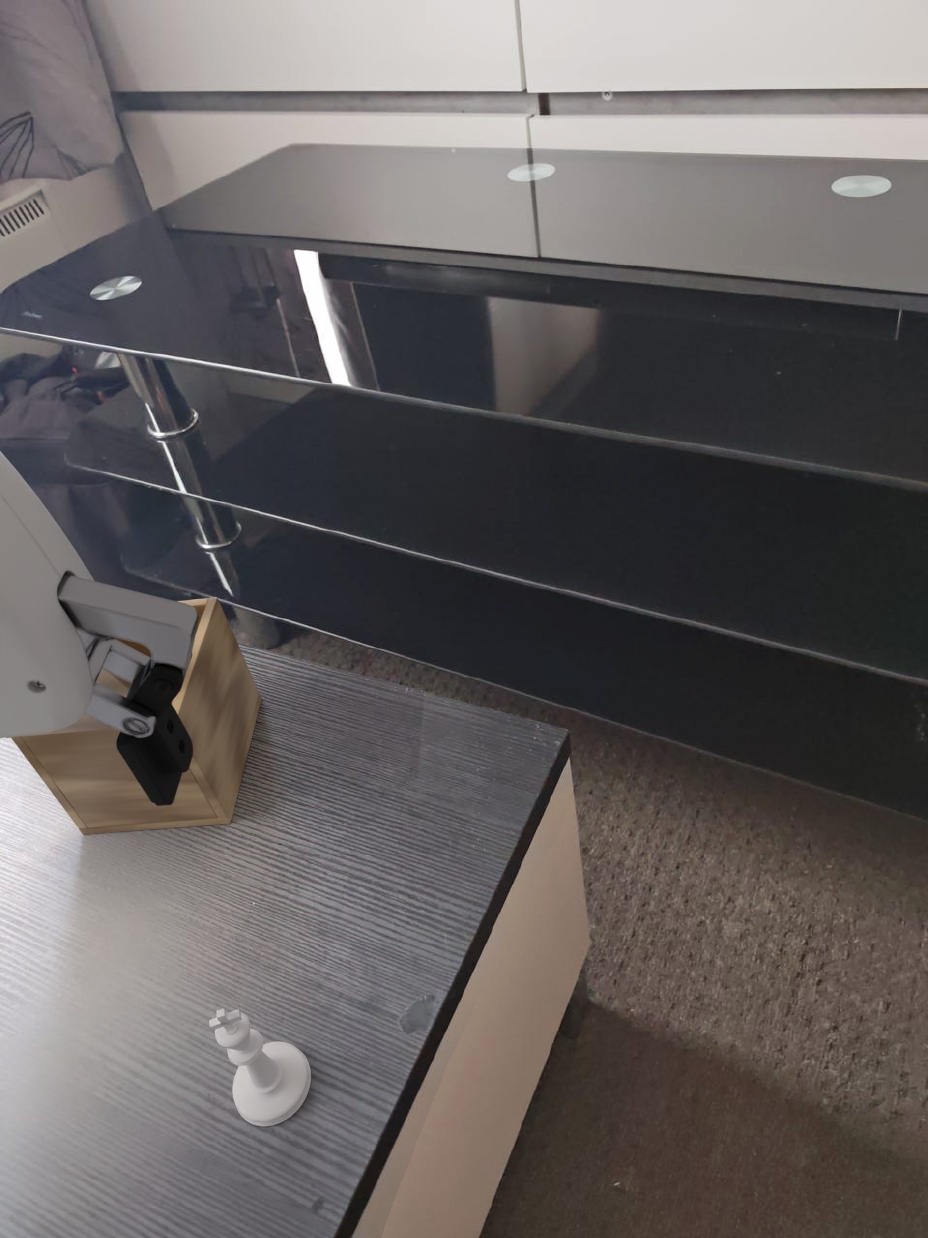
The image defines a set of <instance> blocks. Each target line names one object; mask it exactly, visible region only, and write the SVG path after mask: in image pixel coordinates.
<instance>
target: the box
mask: <svg viewBox="0 0 928 1238" xmlns="http://www.w3.org/2000/svg"><path fill="white" fill-rule="evenodd" d="M177 602H181V603H185V604H188V605H191V606H192V607H194V608H195V609H196V610H197V612H198V614H199V619H198V624H197V630H196V635H195V641H194V646H193V649H192V658H191V661H190V664H189V667H188V670H187V673H186V676H185V679H184V682H183V685H182V688H181V690H180V692H179V693H178V694H177V696H176V697H175V698H174V699H173V701H172V702H171V703H172V705H173V707H174V709H175V711H176V712H177V714H178V716H179V718H180V720H181V721H182V723H183V725H184V727H185V729H186V730H187V732H188V734H189V736H190V738H191V740H192V744H193V756H192V760H191V763H190V767H189V769H188V771H187V772H184V773H182V776H181V779H180V782H179V785H178V789H177V792H176V795H175V798H174V801H173V803H172V805H165V806H157V805H156V804H155V803H152V802H151V801H150V799H149V798H148V796H147V795H146V793H145V791H144V790H143V788H142V787H141V785H140V784H139V782H138V781H137V779H136V778H135V776H134V774H133V773H132V771H131V770H130V768H129V767H128V765H127V764H126V762H125V761H124V759H123V757H122V756H121V754H120V753H119V751H118V749H117V746H116V741H117V738H118V735H119V733H120V731H119V730H117V729H103V730H92V731H81V732H69V733H58V734H47V735H35V736H24V737H13V738H11V741H12V742H13V743H14V744H15V745H16V747H17V748H18V750H19V751H20V752H21V753H22V754H23V756H24V758H25V759H26V760H27V762H28V763H29V764H30V766H31V767H32V768H33V770H34V771H35V772H36V774H37V775H38V776H39V777H40V779H41V780H42V782H43V783H44V784H45V786H46V787H47V788H48V790H49V791H50V792H51V793H52V795H53V796H54V797H55V799H56V800H57V802H58V804H59V805H60V806H61V807H62V809H63V810H64V812H65V813H66V814H67V815H68V817H69V818H70V819H71V820H72V822H73V823H74V824H75V826H76V827H77V829H78V830H79V832H80V833H81V834H82V835H96V834H108V833H109V834H110V833H122V832H134V831H135V832H136V831H149V830H150V831H151V830H162V829H176V828H189V827H203V826H204V827H205V826H217V825H218V826H219V825H230V824H231V823H232V819H233V815H234V812H235V807H236V804H237V800H238V795H239V791H240V787H241V783H242V780H243V776H244V771H245V768H246V764H247V760H248V755H249V753H250V747H251V743H252V739H253V736H254V731H255V728H256V723H257V720H258V716H259V711H260V707H261V704H262V699H263V698H262V695H261V693H260V691H259V688H258V685H257V684H256V681H255V679H254V677H253V675H252V673H251V670H250V668H249V665H248V664H247V661H246V659H245V657H244V655H243V653H242V650H241V647H240V645H239V643H238V641H237V639H236V637H235V634H234V632H233V629H232V627H231V625H230V623H229V621H228V619H227V616H226V614H225V612H224V609H223V607H222V605H221V603H220V600H219V597H216V596H215V597H209V598H208V597H205V598H197V599H187V600H186V599H185V600H177ZM116 640H118V641H120V642H122V643H124V644H126V645H127V646H129V647H131V648H133V649H135V650H137V651H139V652H141V653H143V654H145V655H147V656H149V657H150V658H151V652H150V651H149V649H148V648H146V647H145V646H144V645H141V644H139V643H135V642H131V641H127V640H122V639H118V638H116Z"/></svg>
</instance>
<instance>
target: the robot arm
mask: <svg viewBox="0 0 928 1238" xmlns="http://www.w3.org/2000/svg"><path fill="white" fill-rule="evenodd" d="M177 601H178V600H177ZM177 601H176V600H173V599H169V598H165V597H161V596H157V595H152V594H148V593H144V592H139V591H136V590H131V589H129V588H123V587H120V586H116V585H111V584H107V583H104V582H99V581H96V580H94V577H93V576H92V575H91V573H90V571H89V569H88V568H87V566H86V564H85V562H84V561H83V560H82V558H81V556H80V555H79V553H78V552H77V550H76V549H75V547H74V546H73V544H72V543H71V542H70V540H69V539H68V537H67V536H66V534H65V533H64V531H63V529H62V528H61V527H60V525H59V524H58V522H57V521H56V520H55V518H54V517H53V516H52V514H51V513H50V511H49V510H48V509H47V507H46V506H45V504H44V503H43V502H42V500H41V499H40V498H39V496H38V495H37V493H36V492H35V491H34V490H33V489H32V487H31V486H30V485H29V484H28V483H27V481H26V480H25V479H24V478H23V476H22V475H21V473H20V472H19V471H18V470H17V468H15V466H14V465H13V464H12V463H11V461H10V460H9V459H8V458H7V457H6V456H5V455H4V453H3V452H2V451H1V450H0V739H7V738H6V737H15V736H24V735H32V734H40V733H46V732H51V731H55V730H59V729H62V728H65V727H67V726H70V725H72V724H74V723H76V722H77V721H79V720H80V719H81V718H82V717H83V715H84V714H85V715H87V716H89V717H91V718H93V719H96V720H98V721H100V722H102V723H104V724H106V725H108V726H110V727H112V728H114V729H117V730H119V731H120V733H119V735H118V738H117V741H116V746H117V749H118V751H119V753H120V754H121V756H122V757H123V759H124V761H125V762H126V764H127V765H128V767H129V768H130V770H131V771H132V773H133V774H134V776H135V778H136V779H137V781H138V782H139V784H140V785H141V787H142V788H143V790H144V791H145V793H146V795H147V796H148V798H149V799H150V801H151V802H152V803H155V804H156V805H157V806H165V805H172V803H173V801H174V798H175V795H176V792H177V789H178V785H179V782H180V779H181V776H182V773H184V772H187V771H188V769H189V767H190V763H191V760H192V756H193V744H192V740H191V738H190V736H189V734H188V732H187V730H186V729H185V727H184V725H183V723H182V721H181V720H180V718H179V716H178V714H177V712H176V711H175V709H174V707H173V705H172V703H171V702H172V701H173V699H174V698H175V697H176V696H177V694H178V693H179V692H180V690H181V688H182V685H183V682H184V679H185V676H186V673H187V670H188V667H189V664H190V661H191V658H192V649H193V646H194V641H195V635H196V630H197V624H198V619H199V614H198V612H197V610H196V609H195V608H194V607H192V606H191V605H188V604H185V603H181V602H177ZM116 638H118V639H122V640H127V641H131V642H135V643H139V644H141V645H144V646H145V647H146V648H148V649H149V651H150V652H151V658H150V657H149V656H147V655H145V654H143V653H141V652H139V651H137V650H135V649H133V648H131V647H129V646H127V645H126V644H124V643H122V642H120V641H118V640H116ZM101 669H104V670H106V671H108V672H110V673H112V674H114V675H116V676H118V677H120V678H122V679H124V680H126V681H128V682H130V683H132V685H131V686H130V689H129V691H128V694H127V696H126V697H124V696H122V695H120V694H118V693H116V692H114V691H112V690H110V689H108V688H106V687H104V686H102V685H100V684H98V683H96V681H97V678H98V676H99V674H100V671H101ZM95 683H96V684H95Z"/></svg>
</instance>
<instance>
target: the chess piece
mask: <svg viewBox="0 0 928 1238" xmlns="http://www.w3.org/2000/svg"><path fill="white" fill-rule="evenodd" d="M208 1024H209V1028H210V1030H211V1031H214V1034H215V1035H214V1036H215V1040H216V1042H217V1044H219V1045H220V1047H223V1048H225V1049H227V1057H228V1059H229V1061H230V1062H231V1063H232V1064H234V1065H235V1066H238V1067H237V1069H236V1071H235V1073H234V1077H233V1080H232V1089H231V1090H232V1098H233V1102H234V1105H235V1108H236V1110H237V1112H238V1113H239V1115H240V1116H241V1117H242V1119H244V1121H246V1122H247V1123H249V1124H251V1125H254V1126H257V1127H273V1126H276V1125H279V1124H281V1123H283V1122H285V1121H287V1120H288V1119H290V1118H291V1117H292V1116H294V1114H295V1113H297V1111H298V1110H299V1109H300V1108H301V1107H302V1105H303V1104H304V1103H305V1100H306V1099H307V1096H308V1093H309V1091H310V1088H311V1083H312V1071H311V1066H310V1063H309V1060H308V1058H307V1057H306V1055H305V1054H304V1053H303V1052H302V1051H301V1050H300V1049H299V1048H298V1047H297V1046H295V1045H294V1044H292V1043H289V1042H286V1041H279V1040H278V1041H277V1040H276V1041H269V1042H266V1043H264V1037H263V1035H262V1034H261V1033H260V1032H259V1030H258V1029H255V1028H252V1027H251V1023H250V1019H249V1017H248V1016H247V1015H246V1014H245V1013H244V1012H241V1011H240V1009H239V1008H237V1009H235V1010H232V1011H229V1012H227V1010H226V1009H225V1008H220V1009H218V1010H216V1017H213V1018H210V1019H209V1020H208Z"/></svg>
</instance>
